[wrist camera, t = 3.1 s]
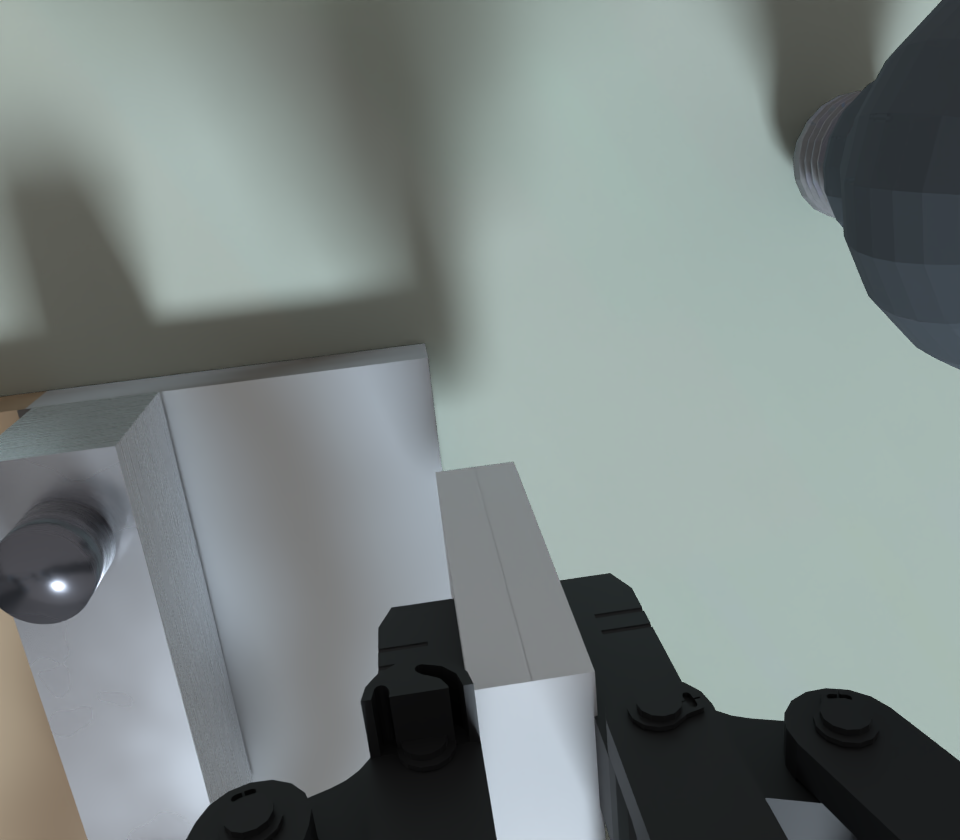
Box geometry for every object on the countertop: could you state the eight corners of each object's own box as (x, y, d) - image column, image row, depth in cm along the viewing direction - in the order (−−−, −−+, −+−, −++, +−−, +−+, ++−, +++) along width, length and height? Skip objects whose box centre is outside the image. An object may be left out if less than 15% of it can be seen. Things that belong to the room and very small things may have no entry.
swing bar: (256, 792, 20) (226, 956, 16) (152, 809, 20) (97, 979, 16) (159, 390, 17) (92, 474, 13) (33, 407, 17) (-75, 497, 13)
